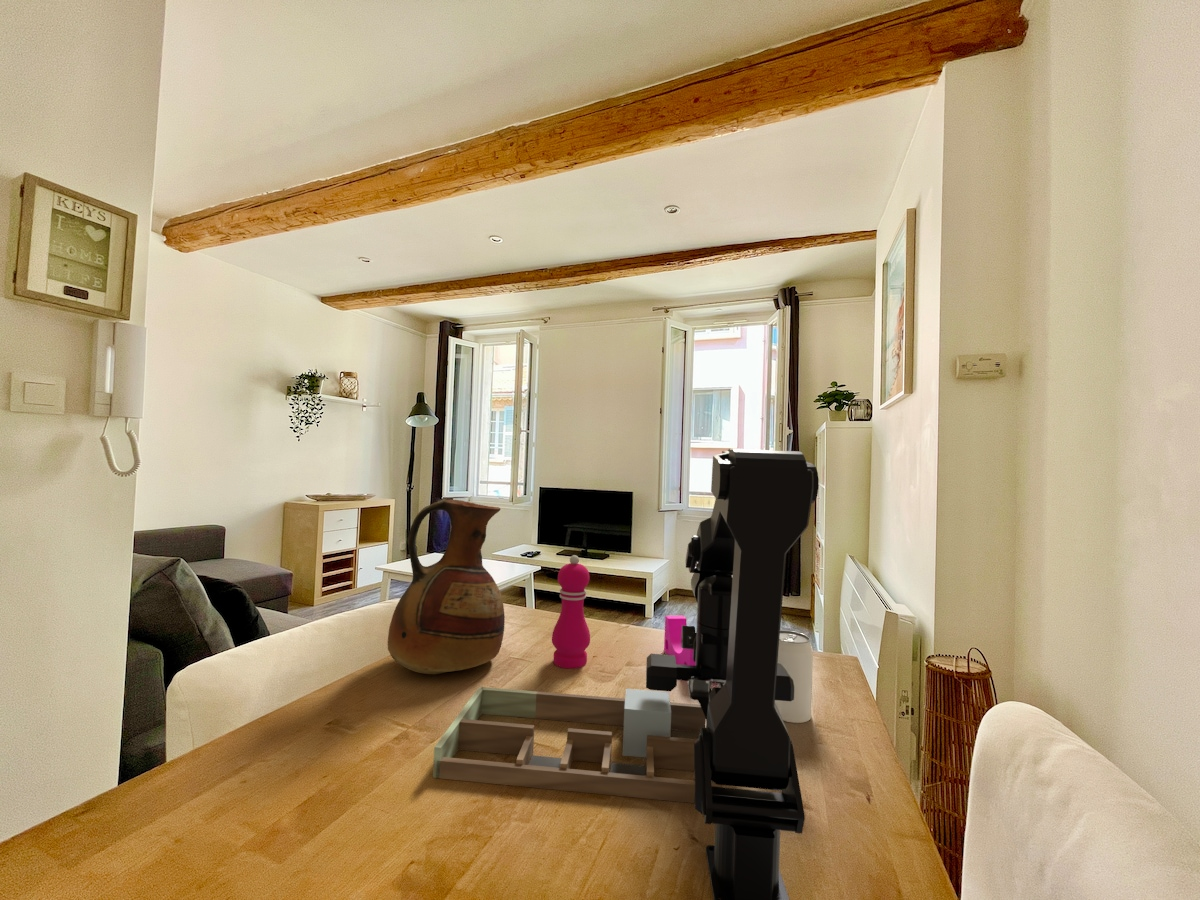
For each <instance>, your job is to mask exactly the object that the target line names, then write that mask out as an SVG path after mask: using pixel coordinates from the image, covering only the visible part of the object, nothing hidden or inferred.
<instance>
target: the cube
mask: <svg viewBox="0 0 1200 900" xmlns="http://www.w3.org/2000/svg"><path fill="white" fill-rule="evenodd" d="M624 699H625V708H624V726H623V735H622V736H623V737H622V738H623V739H622V756H625V757H627V756H628V757H637V758H646V748H647V735H653V736H665V737H671V731H672V730H671V707H670V702H671V700H670V691H658V690H650V689H648V690H647V689H637V688H636V689H634V688H625V696H624Z"/></svg>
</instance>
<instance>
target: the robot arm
mask: <svg viewBox="0 0 1200 900" xmlns="http://www.w3.org/2000/svg"><path fill="white" fill-rule="evenodd" d="M711 469H712V471H711V484H710V485H711V487H710V489H711V490H710V491H711V493H712V495H713V496H714V498H715V500H714V504H713V509H712V514H711V516H710V517H707V518H706V519H704V520H702V521H700V522H699V524H698V525H699V526H698V528H697V532H696V535H692V537H691V538H690V542H689V543H688V544H687V548H686V555H685V569H686V568H687V569H688V572H689V573H690V574H692V576H691V579H690V587H691V588H690V589H691V590H692V592H693V596H694V599H695V600H696V603H697V607H696V608H697V609H696V627H695V625H687V626H684V625H682V633H681V648H684V649H693V661H695V666H692V665H679V664H676V659H675V655H667V654H662V653H660V654H659V653H650V654H648V656H647V657H646V664H645V666H646V667H645V668H646V669H645V688H646V689H648V690H650V691H663V692H672V691H673V690H674V689H675V688H676V687H678V686H677V684H678V681H686V683H687V689H688V694H689V698H690V699H691V700H693V701H698V703H699V705H700V706H701V708H702V711H703V713H704V715H705V718H706V722H705V728H701V729H700V732H699V734H698V737H697V739H698V740H697V741H696V742H695V743H694V771H693V772H694V780H695V799H694V803H693V804H694V810H696V811H697V812H699V813H700V814H701V815H703V820H704V824H706V825H712V824H715V825H714V829H715V830H714V831H715V832H714V845H712V844H708V845H706V847H705V855H706V861H707V867H708V873H709V878H710V886H711V892H712V897H713V900H790V898H789V895H788V891H787V888H786V886H785V882H784V879H783V877H782V873H781V871H780V855H781V854H780V853H781V852H780V851H781V831H785V832H795V833H796V834H803V830H804V824H805V820H806V818H805V817H806V816H805V810H804V809H805V808H804V804H803V797H802V792H801V787H800V786H801V785H800V780H799V775H798V774H799V773H798V769H797V762H796V757H795V751H794V747H793V746H794V745H793V742H792V738H791V737H790V735H789V732H788V729H787V727H786V724H785V721H783V719H782V717H781V714H780V712H779V709H778V707H777V705H776V703H775V700H780V701H792V700H794V682H793V679H792V678H791V677H790V675H789V674H788V672H787V671H786V669H785V668H784V667H783V666H782V665H781V663H778V650H779V638H780V630H781V623H782V609H783V595H784V585H785V584H784V583H785V573H786V572H785V571H786V561H787V560H786V559H787V554H788V552H789V551H790V550H791V548H792V547H793V546H794V545H795V543H796V542H797V541H798V540H799V538H800V537H801V536H802V534H803V533H805V531H806V530H807V529H808V526H809V523H810V516H811V510H812V504H814V503H815V502H816V500H817V497H818V493H819V481H820V479H819V472H818V469H817V466H815V463H814V464H813V463H811V462H808V461H807V460H806V457H805V454H804V453H803V452H801V451H800V450H799V451H798V450H797V451H796V450H795V451H794V450H792V451H791V450H773V449H772V450H769V449H755V448H751V449H749V448H747V449H746V448H729V449H728V450H722V452H721V453H718V454H713V455H712V468H711ZM712 683H713V684H718V686H717V687H715V686H713V688H711V686H712ZM711 782H714V783H715V784H717V785H722V786H724V787H713V786H711ZM725 786H729V787H725ZM731 787H732V788H731ZM734 787H740V788H734ZM743 788H752V789H743ZM754 789H758V790H754ZM759 789H761V790H762V791H761V790H759ZM765 790H772V791H765ZM774 791H780V792H774Z"/></svg>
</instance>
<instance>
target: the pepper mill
mask: <svg viewBox="0 0 1200 900" xmlns="http://www.w3.org/2000/svg"><path fill="white" fill-rule="evenodd" d="M569 562H570V563H566V564H564V565H563V566H562V567H561V568H560V569H559V572H558V574H557V582H558V584H559V586H560V587H561V588H560V589H559V598H560V599H561V607H560V608H561V611H560V614H559V617H558V619H557V622H556V623H555V625H554V626H553V627H554V628H553V631H552V633H551V643H552V645H553V646H554V648H555V650H554V652H553V659H552V660H553V664H554V665H555V666H557V667H559V668H562V669H572V670H573V669H578V668H582V667H584V666H585V665H587V662H588V653H587V651H586V649H587V648H588V647H589V646H590V644H591V633H590V629H589V626H588V624H587V620H586V618H585V613H584V601H585V599H587V590H586V587H587V586H589V585H588V584H589V583H590V572H589V570H588V568H587V567H586V566H584V565H583V564H581V563H579V562H580V558H579V556H578V555H576V554H573V555H571V556H570V558H569Z"/></svg>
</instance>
